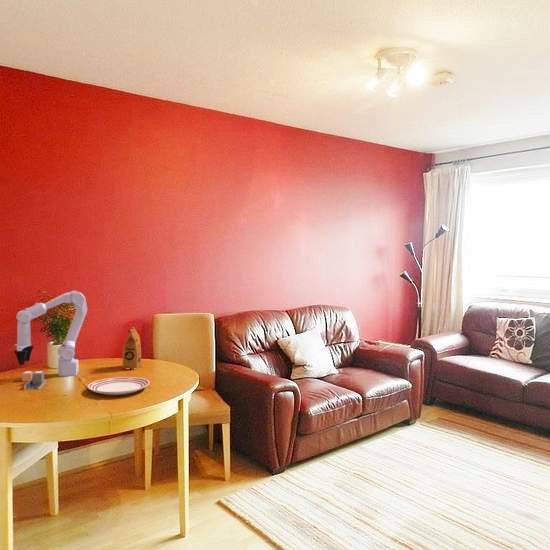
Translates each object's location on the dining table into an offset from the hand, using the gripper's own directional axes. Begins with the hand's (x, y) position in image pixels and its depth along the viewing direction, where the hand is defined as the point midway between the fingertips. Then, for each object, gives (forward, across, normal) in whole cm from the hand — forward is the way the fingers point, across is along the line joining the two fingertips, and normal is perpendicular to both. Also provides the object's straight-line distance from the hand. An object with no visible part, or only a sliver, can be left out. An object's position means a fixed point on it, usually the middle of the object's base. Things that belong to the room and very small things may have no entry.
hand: (24, 362), depth 229 cm
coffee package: (+10, -24, +48) cm, 55 cm away
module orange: (+10, +2, +2) cm, 10 cm away
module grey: (+8, +7, +8) cm, 14 cm away
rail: (+9, +12, +8) cm, 17 cm away
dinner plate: (+10, +19, +47) cm, 51 cm away
